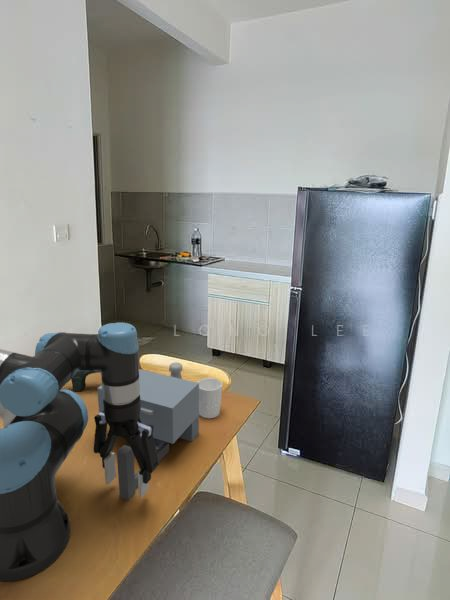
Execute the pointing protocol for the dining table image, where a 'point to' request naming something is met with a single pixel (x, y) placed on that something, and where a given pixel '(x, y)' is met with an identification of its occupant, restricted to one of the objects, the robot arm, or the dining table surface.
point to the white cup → (209, 397)
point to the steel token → (158, 443)
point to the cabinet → (167, 406)
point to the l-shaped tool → (131, 469)
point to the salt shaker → (175, 370)
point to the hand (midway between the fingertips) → (127, 486)
